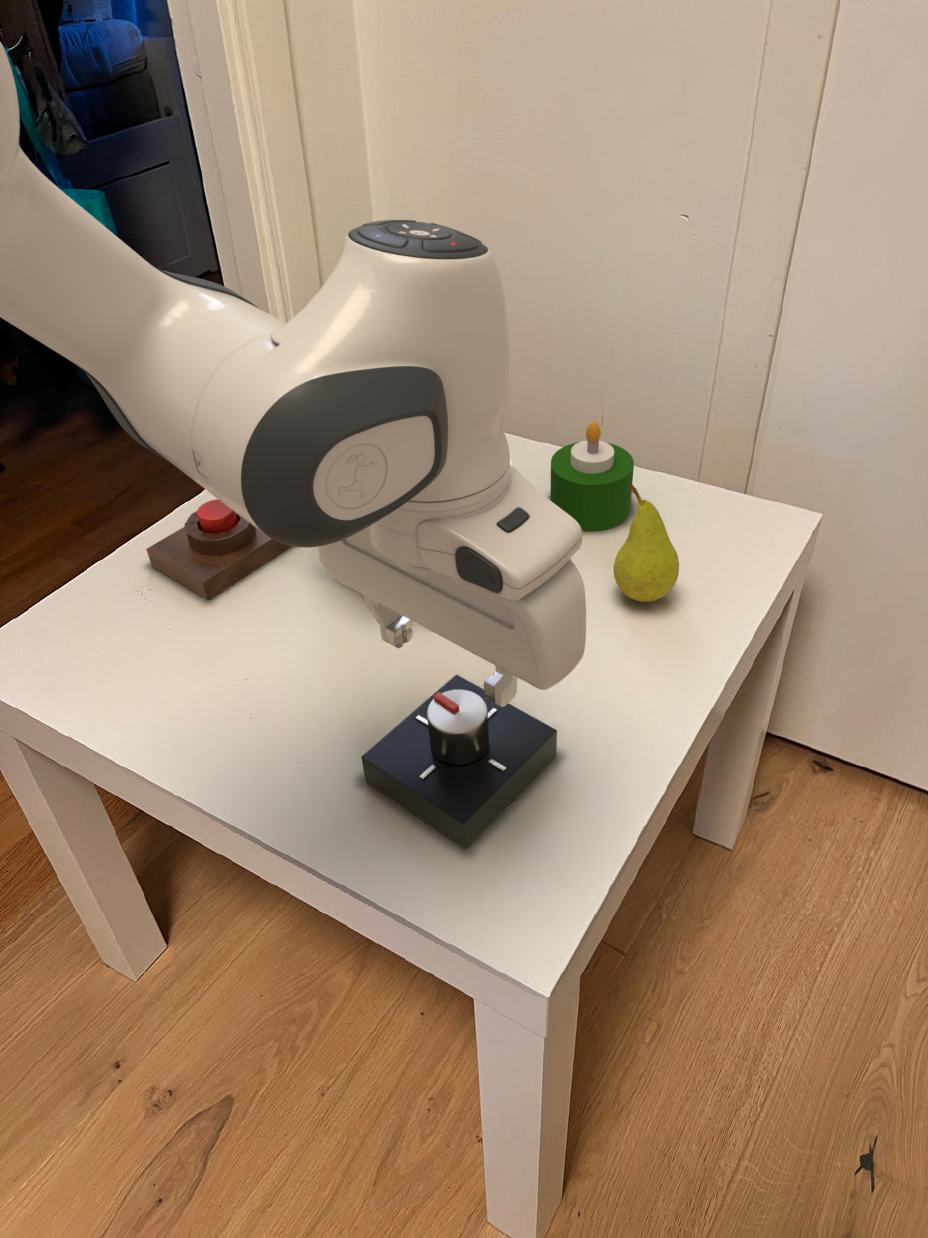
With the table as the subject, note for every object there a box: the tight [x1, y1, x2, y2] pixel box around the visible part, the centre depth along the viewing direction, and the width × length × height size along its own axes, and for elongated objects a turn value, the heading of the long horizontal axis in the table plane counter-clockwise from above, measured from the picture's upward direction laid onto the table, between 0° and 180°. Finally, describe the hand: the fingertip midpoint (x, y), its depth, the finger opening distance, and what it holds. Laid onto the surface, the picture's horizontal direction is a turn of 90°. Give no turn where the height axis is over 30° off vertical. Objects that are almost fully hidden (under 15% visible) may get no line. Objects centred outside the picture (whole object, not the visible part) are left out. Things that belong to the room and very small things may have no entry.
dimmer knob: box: [427, 689, 489, 765], centre depth 69 cm, size 4×4×4 cm
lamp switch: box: [145, 510, 292, 601], centre depth 94 cm, size 12×9×4 cm
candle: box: [549, 421, 635, 532], centre depth 95 cm, size 8×8×10 cm
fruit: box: [613, 483, 680, 603], centre depth 83 cm, size 6×6×12 cm
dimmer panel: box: [360, 674, 558, 851], centre depth 71 cm, size 11×10×3 cm
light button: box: [196, 498, 238, 534], centre depth 92 cm, size 4×4×2 cm
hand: (447, 668), depth 65 cm, fingers open, 8 cm apart
